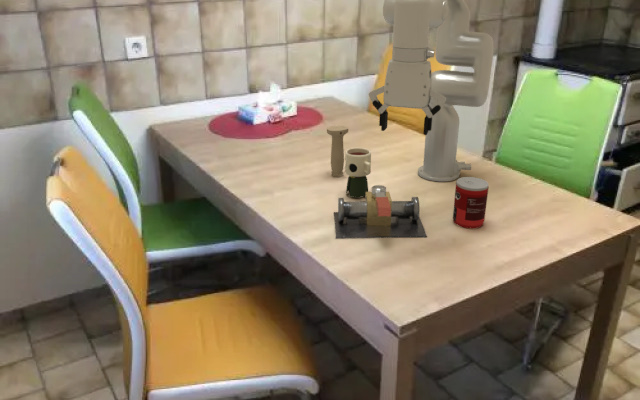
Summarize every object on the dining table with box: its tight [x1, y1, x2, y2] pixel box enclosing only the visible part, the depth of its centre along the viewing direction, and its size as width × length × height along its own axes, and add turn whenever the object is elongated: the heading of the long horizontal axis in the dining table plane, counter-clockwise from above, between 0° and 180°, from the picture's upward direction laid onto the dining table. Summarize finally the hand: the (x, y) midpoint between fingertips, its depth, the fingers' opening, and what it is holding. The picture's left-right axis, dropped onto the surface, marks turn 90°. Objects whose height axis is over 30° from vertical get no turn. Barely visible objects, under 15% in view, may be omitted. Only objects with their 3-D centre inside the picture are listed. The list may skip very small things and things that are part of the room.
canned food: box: [452, 176, 489, 229], centre depth 148 cm, size 8×8×11 cm
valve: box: [333, 191, 428, 239], centre depth 148 cm, size 22×14×7 cm, turn 91°
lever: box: [370, 184, 391, 216], centre depth 142 cm, size 14×4×2 cm, turn 1°
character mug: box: [344, 147, 372, 198], centre depth 164 cm, size 11×7×13 cm, turn 33°
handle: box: [326, 125, 349, 178], centre depth 177 cm, size 5×6×15 cm
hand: (404, 131), depth 134 cm, fingers open, 9 cm apart
